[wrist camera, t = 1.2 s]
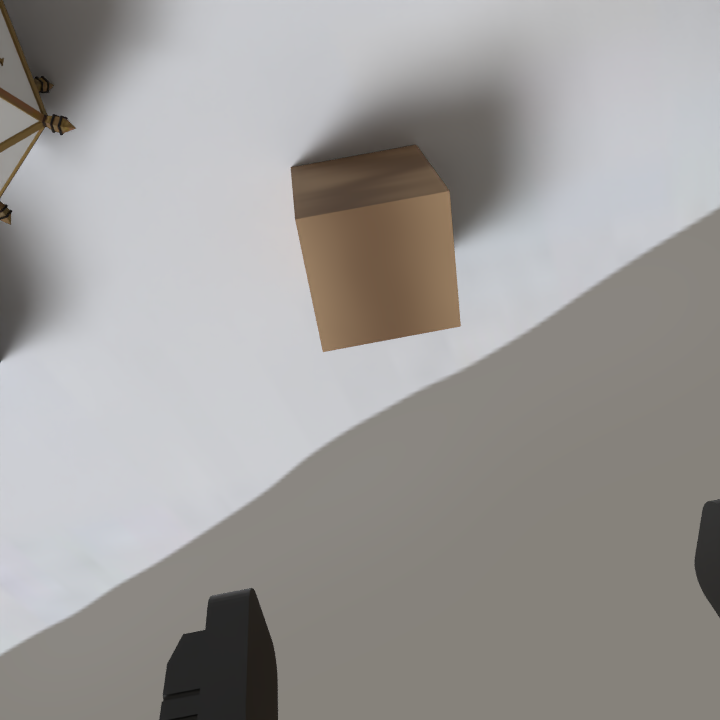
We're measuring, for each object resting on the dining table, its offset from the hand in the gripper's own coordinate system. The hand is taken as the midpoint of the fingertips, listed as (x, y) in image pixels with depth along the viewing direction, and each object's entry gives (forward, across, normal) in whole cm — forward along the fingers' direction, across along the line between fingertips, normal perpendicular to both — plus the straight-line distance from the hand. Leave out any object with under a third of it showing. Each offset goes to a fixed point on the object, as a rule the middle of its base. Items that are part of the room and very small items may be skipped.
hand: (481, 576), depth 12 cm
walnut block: (+19, 0, 0) cm, 19 cm away
